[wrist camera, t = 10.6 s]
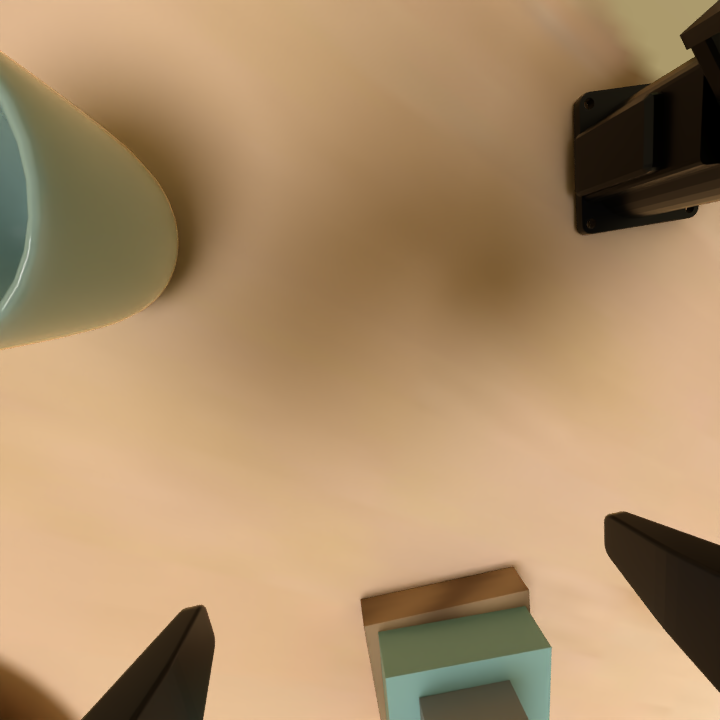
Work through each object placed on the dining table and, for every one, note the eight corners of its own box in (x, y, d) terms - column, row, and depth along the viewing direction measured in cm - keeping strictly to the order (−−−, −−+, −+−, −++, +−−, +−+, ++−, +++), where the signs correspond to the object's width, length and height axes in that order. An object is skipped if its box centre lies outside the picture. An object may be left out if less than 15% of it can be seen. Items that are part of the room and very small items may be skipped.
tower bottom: (507, 558, 23) (528, 590, 21) (515, 674, 26) (534, 714, 23) (359, 590, 23) (363, 626, 20) (380, 706, 25) (386, 752, 23)
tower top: (525, 606, 21) (551, 647, 19) (523, 718, 23) (547, 769, 21) (378, 632, 21) (385, 678, 18) (389, 746, 22) (397, 802, 20)
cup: (212, 173, 16) (51, 8, 7) (192, 336, 18) (36, 395, 8) (27, 128, 15) (-483, -147, 6) (21, 305, 17) (-397, 331, 7)
